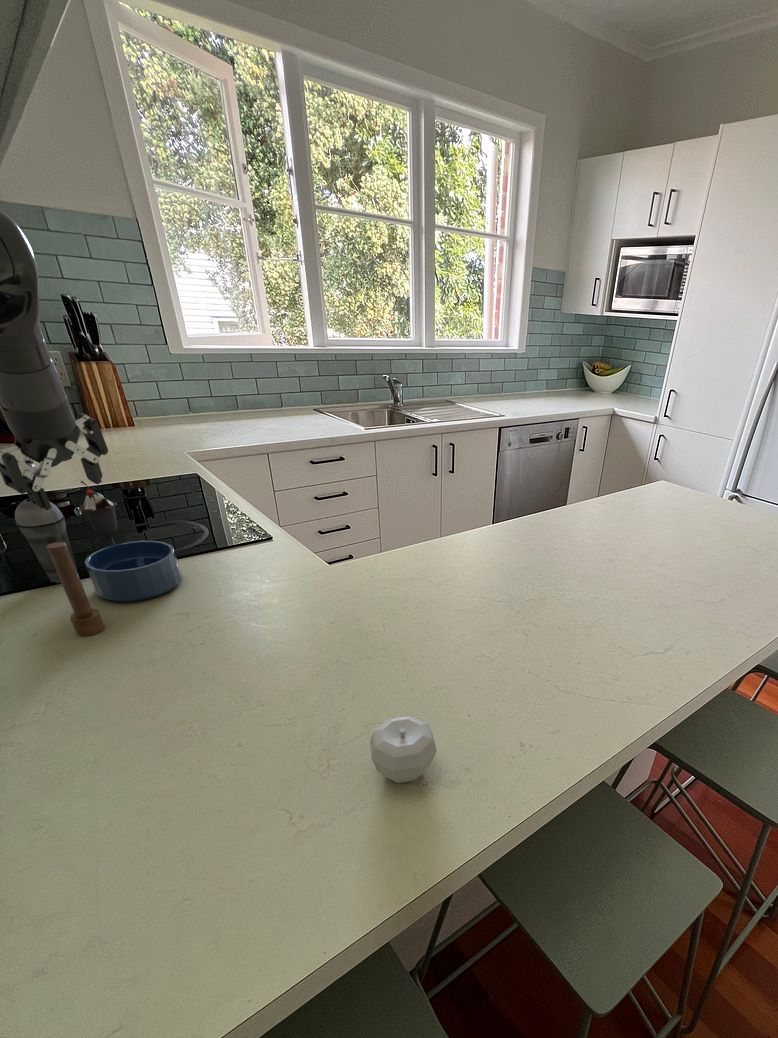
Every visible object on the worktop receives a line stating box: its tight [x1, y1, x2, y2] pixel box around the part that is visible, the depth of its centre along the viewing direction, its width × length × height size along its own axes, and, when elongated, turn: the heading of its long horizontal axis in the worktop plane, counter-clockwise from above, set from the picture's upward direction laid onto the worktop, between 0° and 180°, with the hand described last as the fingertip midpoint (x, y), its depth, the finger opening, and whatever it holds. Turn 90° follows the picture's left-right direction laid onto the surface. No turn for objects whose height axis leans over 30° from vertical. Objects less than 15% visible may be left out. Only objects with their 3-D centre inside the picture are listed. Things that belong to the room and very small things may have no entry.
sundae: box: [78, 480, 118, 547], centre depth 112 cm, size 7×7×15 cm
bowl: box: [84, 540, 183, 603], centre depth 101 cm, size 14×14×6 cm
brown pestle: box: [47, 542, 106, 637], centre depth 85 cm, size 4×4×15 cm
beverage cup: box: [14, 498, 78, 584], centre depth 100 cm, size 7×7×20 cm
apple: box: [369, 715, 438, 784], centre depth 63 cm, size 8×8×7 cm
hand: (70, 493), depth 83 cm, fingers open, 8 cm apart
